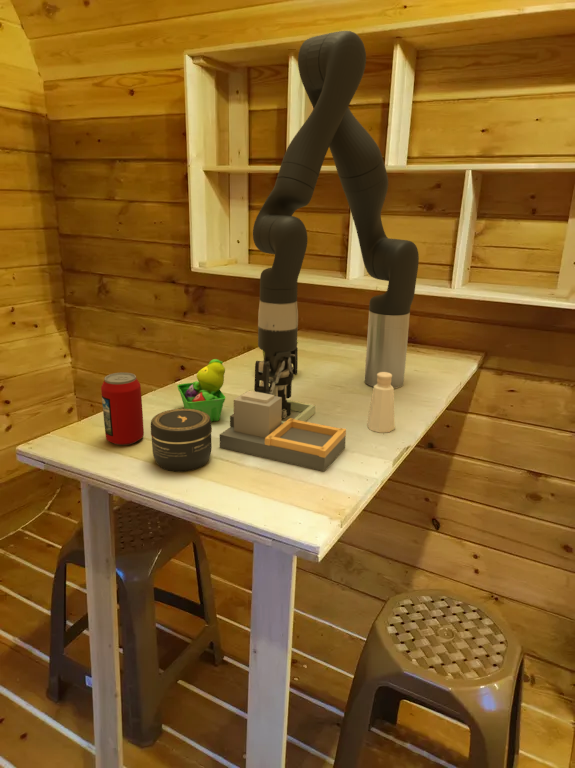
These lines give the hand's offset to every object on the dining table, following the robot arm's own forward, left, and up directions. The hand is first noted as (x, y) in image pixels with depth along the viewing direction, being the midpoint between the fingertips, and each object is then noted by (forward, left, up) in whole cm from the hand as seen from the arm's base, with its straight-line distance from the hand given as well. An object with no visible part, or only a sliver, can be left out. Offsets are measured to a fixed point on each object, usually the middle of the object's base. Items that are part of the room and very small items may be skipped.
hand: (276, 403), depth 117 cm
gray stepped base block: (+12, +7, -3) cm, 14 cm away
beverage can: (+22, -20, -3) cm, 30 cm away
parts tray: (0, 0, -3) cm, 3 cm away
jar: (+24, -6, -3) cm, 25 cm away
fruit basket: (+5, -14, -3) cm, 15 cm away
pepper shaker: (-5, +20, -3) cm, 21 cm away
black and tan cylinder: (0, 0, -3) cm, 3 cm away
